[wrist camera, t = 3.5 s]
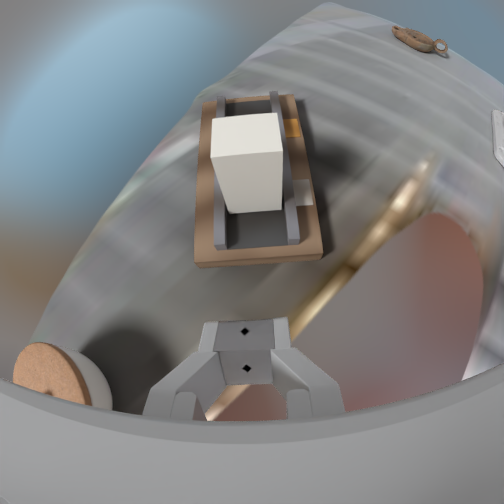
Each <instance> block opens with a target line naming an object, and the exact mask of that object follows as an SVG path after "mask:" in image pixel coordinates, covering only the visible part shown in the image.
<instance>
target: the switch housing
mask: <svg viewBox="0 0 504 504" xmlns="http://www.w3.org/2000/svg"><path fill="white" fill-rule="evenodd" d="M264 113H277V116H278V122H279V128H280V135H281V141H282V148H283V172H282V208H281V210H272V211H258V212H246V213H234V214H229V211H228V209H227V206H226V203H225V200H224V197H223V194H222V191H221V188H220V185H219V182H218V179H217V176H216V173H215V170H214V167H213V164H212V161H211V158H210V157H211V134H212V119H215V118H223V117H231V116H240V115H251V114H264ZM322 255H323V247H322V240H321V233H320V226H319V220H318V213H317V207H316V201H315V195H314V190H313V184H312V179H311V173H310V168H309V163H308V158H307V153H306V148H305V143H304V138H303V134H302V129H301V125H300V120H299V116H298V111H297V107H296V103H295V99H294V95H293V94H292V95H278V91H273V92H270V96H256V97H245V98H235V99H225V96H219V97H217V101H211V102H204V103H203V106H202V117H201V128H200V141H199V154H198V170H197V188H196V210H195V243H194V263H195V264H196V265H197V266H198V267H199V268H211V267H226V266H240V265H254V264H268V263H282V262H295V261H308V260H320V259H321V257H322Z"/></svg>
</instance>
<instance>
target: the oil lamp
mask: <svg viewBox="0 0 504 504" xmlns="http://www.w3.org/2000/svg"><path fill="white" fill-rule="evenodd" d="M392 32H393V34H394V35H395V36H396V37H397V38H398V39H400V40H401V41H402V42H404V43H406V44H407V45H409V46H410V47H412V48H414V49H416V50H418V51H422V52H429V51H431V50H433V49H435V50H436V51H437V52H439V53H445V52H447V50H448V47H447V44H446V43H445V41H443V40H441V39H437V40H436V41H435V42H434V41H433V40H432V39H430V38H429V37H428V36H426V35H424V34H423V33H420V32H418V31H415V30H411V29H409V28H406V29H403V28H400V27H398V26H393V27H392ZM437 43H443V44H444V45H445V49H444V50H440V49H438V48H437V47H436V45H437Z"/></svg>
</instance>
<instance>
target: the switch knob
mask: <svg viewBox="0 0 504 504" xmlns="http://www.w3.org/2000/svg"><path fill="white" fill-rule="evenodd" d="M210 158H211V161H212V164H213V167H214V170H215V173H216V176H217V179H218V182H219V185H220V188H221V191H222V194H223V197H224V200H225V203H226V206H227V209H228V211H229V214H234V213H246V212H258V211H272V210H281V208H282V172H283V148H282V141H281V135H280V128H279V122H278V116H277V113H264V114H251V115H240V116H231V117H223V118H215V119H212V134H211V157H210Z"/></svg>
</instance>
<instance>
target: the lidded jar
mask: <svg viewBox="0 0 504 504" xmlns="http://www.w3.org/2000/svg"><path fill="white" fill-rule="evenodd" d="M13 383H16V384H18V385H21V386H24V387H27V388H29V389H32V390H35V391H38V392H41V393H45V394H48V395H51V396H54V397H58V398H61V399H65V400H69V401H72V402H76V403H80V404H84V405H89V406H93V407H98V408H103V409H108V410H112V407H113V402H112V394H111V390H110V387H109V384H108V382H107V380H106V378H105V376H104V375H103V373H102V372H101V370H100V369H99V368H98V367H97V366H96V364H95V363H94V362H92V361H91V360H90V359H89V358H87V357H86V356H84V355H83V354H81V353H79V352H77V351H75V350H72V349H70V348H66V347H62V346H57V345H52V344H48V343H43V342H36V343H32V344H30V345H28V346H27V347H26V348H24V350H22V352H21V353H20V355H19V356H18V359H17V361H16V364H15V367H14V374H13Z"/></svg>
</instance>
